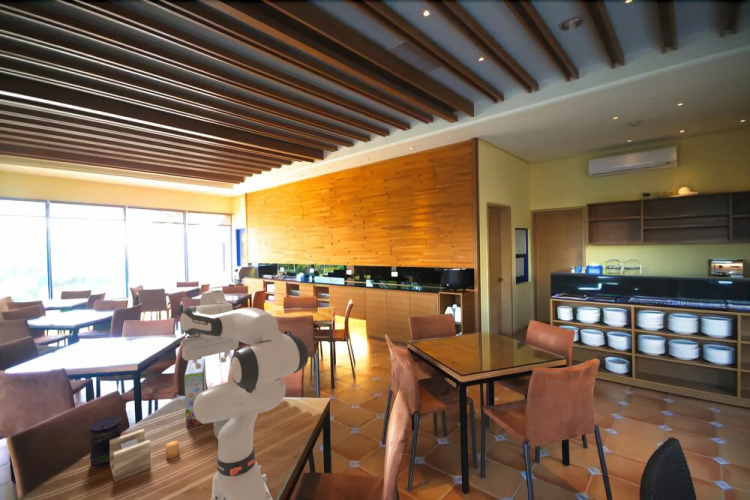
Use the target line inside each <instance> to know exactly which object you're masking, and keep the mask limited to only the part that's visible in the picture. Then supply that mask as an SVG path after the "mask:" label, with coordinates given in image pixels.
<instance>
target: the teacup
mask: <svg viewBox="0 0 750 500" xmlns="http://www.w3.org/2000/svg"><path fill="white" fill-rule="evenodd" d="M230 419H231V418H230ZM230 419H226V420H221V421H216V422H212V423H213V432H214V436H215V438H216V439H217V440H218V435H219V432H220V430H221V429H222V427H223V426H224V425H225V424H226V423H227V422H228V421H229V420H230Z"/></svg>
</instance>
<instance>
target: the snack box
mask: <svg viewBox="0 0 750 500" xmlns="http://www.w3.org/2000/svg"><path fill="white" fill-rule="evenodd" d="M197 363H201V368H199V369H196V367H195V363H194V361H193V360H188V362H187V365H186V369H185V372H184V376H183V377H184V399H185V401H184V402H185V403H184V404H185V427H186V428H189V427H190V426H191V427H195V426H198V425H199V426H200V425H204V424H203V423H201V422H199V421H198V420H197V419H196V417H195V415H194V412H193V405H194V401H195V399H196V397H197V396H198V394H199V393H201V392H203V391H205V390H207V378H206V377H207V374H206V373H207V371H206V358H205V357H201V358H198V361H197Z"/></svg>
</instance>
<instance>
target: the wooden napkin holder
mask: <svg viewBox="0 0 750 500" xmlns="http://www.w3.org/2000/svg"><path fill="white" fill-rule="evenodd" d="M109 442H110V465H109V467H110V470H111V474H112V478H113V480H114V483H116V482H117V481H120V480H124V479H125V478H128V477H130V476H132V475H134V474H137V473H140V472H143V471H144V470H148V469H150V468H151V466H152V465H151V462H152V461H151V440H150V439H146V440H145V429H144V428H141V429H139V430H138V429H137V430H134V431H132V432H128V433H126V434H123V435H121V436H120V437H117V438H114V439H111V440H109Z"/></svg>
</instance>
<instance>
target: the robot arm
mask: <svg viewBox="0 0 750 500" xmlns="http://www.w3.org/2000/svg"><path fill="white" fill-rule="evenodd" d="M224 292H225V291H223V290H219V289H217V290H208V291H207V290H206V291H203V292H202V293H201V295H200V296H201V297H200V301H199V302H200V303H199V305H189V306H187V307H186V308H185V309H184V310H183V311H182V312H181V314H180V318H179V324H180V329H181V330H182V332H184V333H185V334H187V335H186V336H184V337H183V338H182V340H181V346H182V348H181V358H182V359H184V361H189V360H193V361H194V363H195V367H196V369H199V368H201V363H197V361H198V359H202V358H205V357H208V356H212V355H217V354H222V353H224V354H223V355H222V356H220V362H221V363H222V364H223V363H226V362H227V358H228V356H229V354H230V351H234V350H236V351H235V352H234V353H233V355H232V357H231V358H230V374H231V378H232V380H230V381H227V382H224V383H221V384H217V385H214V386H212V387H209V388H208V389H207V388H206V390H205V391H203V392H201V393H199V394H198V396H197V397H196V399H195V401H194V405H193V412H194V415H195V417H196V419H197V420H198V421H199V422H201V423H203V424H202V425H204V424H205V425H206V424H210V423H211V424H212V423H213V422H216V421H221V420H226V419H230V418H231V419H230V420H229V421H228V422H227V423H226V424H225V425H224V426H223V427H222V429H221V430H220V432H219V435H218V439H217V448H218V449H217V451H218V452H217V456H216V470H217V471H216V473H215V474H214V476H213V478H212V484H211V485H212V487H211V499H210V500H274V499H273V497H272V495H271V492H270V490H269V488H268V486H267V484H266V482H267V481H268V477H267V474H266V473H263V474H262V473H261V469H262V467H261V465H258V462H257V457H256V452H255V447H254V427H255V424H256V421H257V419H258V415H259V414H261V413H265V412H269V411H271V410H272V409H274V408H277V406H279V405H280V404H281V403H282V402H283V401H284V398H285V395H286V390H287V389H286V383H285V382H284V380H283V378H284V377H288V376H289V375H291V374H295V373H298V372H300V371H301V370H303V369H304V368H305V367H306V366H307V364H308V360H309V358H310V357H309V356H310V355H309V348H308V345H307V344H306V342H305V340H303V339H302V338H300V337H299V336H297V335H296V334H293V333H292V332H291V331H289V330H286V331H284V332H283V333H282V332H281V331H280V330H279V323H278V320H277V318H276V317H275V316H273V315H272V313H269V312H267V311H266V310H264V309H260V308H258V307H251V306H250V307H240V308H237V307H236V305H234V304H232V303H231V302H228V301H227V300H226V299H227V298H226V297H225V293H224ZM239 342H240V343H244V344H247V345H250V346H247V345H246V346H245V347H242V348H240V349H238V348H239V347H240V346H239V344H240V343H239Z"/></svg>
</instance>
